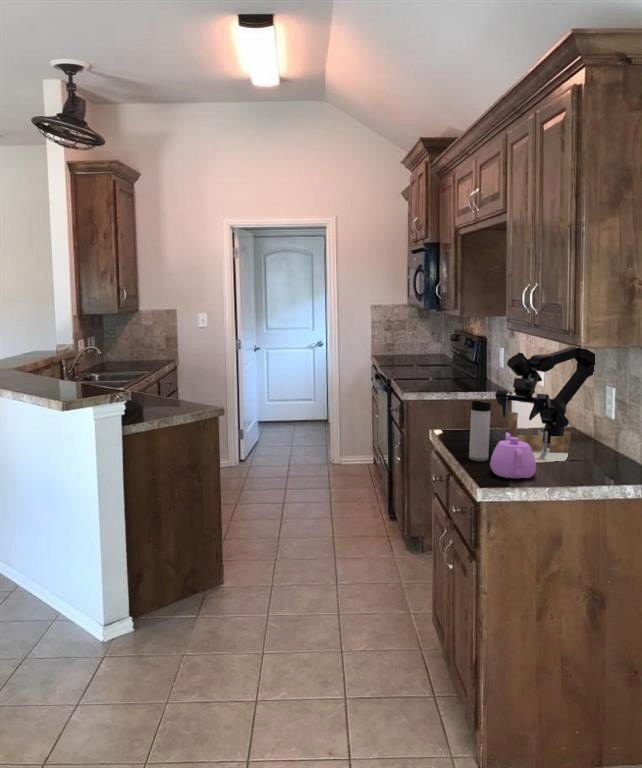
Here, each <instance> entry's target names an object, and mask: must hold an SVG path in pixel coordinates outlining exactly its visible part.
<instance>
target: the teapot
mask: <svg viewBox="0 0 642 768" xmlns="http://www.w3.org/2000/svg"><path fill="white" fill-rule="evenodd" d="M489 465H490V469H491V470H492V471H491V472H493V473H494V474H495V475H496V476H498V477H505V478H508V479H520V478H527V479H530V478H532V477H533V476H534V474H536V471H537V463H536V462H535V457H534V454H533V452H532V449H531V447H530V445H529V444H528V443H526V442H522V441H519V438H517V437H511V436H510V433H508V432H505V439H504V440H499V441H498V443H497V444H496V446H495V448H494V450H493V452H492V453H491V458H490V462H489Z"/></svg>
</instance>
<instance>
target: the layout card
mask: <svg viewBox="0 0 642 768" xmlns="http://www.w3.org/2000/svg"><path fill="white" fill-rule="evenodd" d="M532 452H533V454H534V457H535V462H536V464H537V463H552V462H553V463H554V462H555V461H559V462H566V461H565V460H566V459H567V457H568V453H564V452H550V447H547V452H546V453H545V452H544V447H542V451H532Z"/></svg>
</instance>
